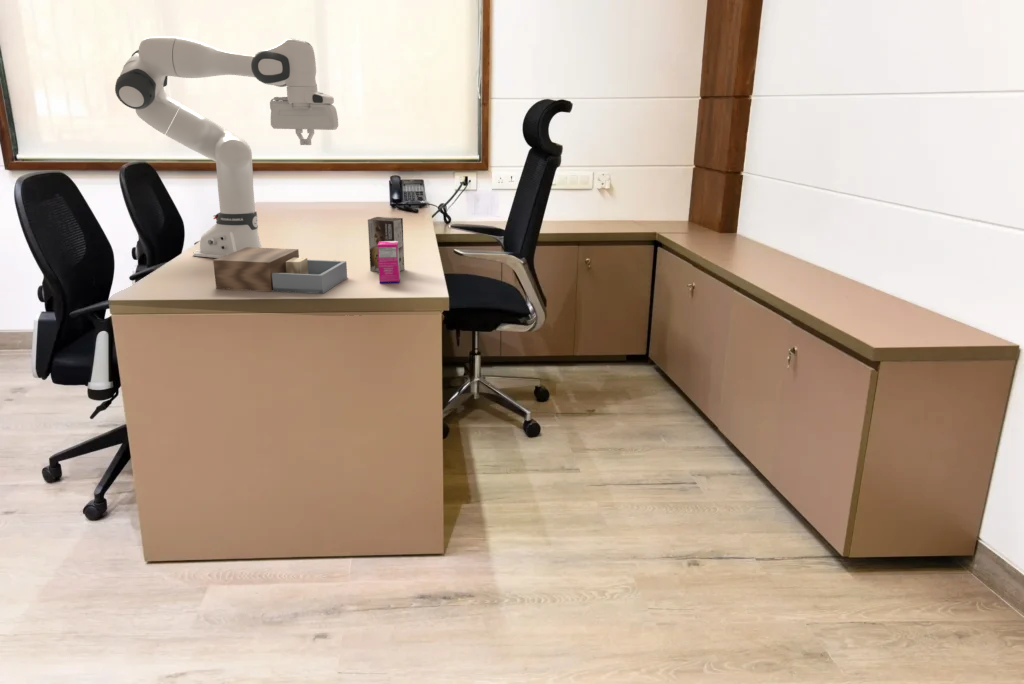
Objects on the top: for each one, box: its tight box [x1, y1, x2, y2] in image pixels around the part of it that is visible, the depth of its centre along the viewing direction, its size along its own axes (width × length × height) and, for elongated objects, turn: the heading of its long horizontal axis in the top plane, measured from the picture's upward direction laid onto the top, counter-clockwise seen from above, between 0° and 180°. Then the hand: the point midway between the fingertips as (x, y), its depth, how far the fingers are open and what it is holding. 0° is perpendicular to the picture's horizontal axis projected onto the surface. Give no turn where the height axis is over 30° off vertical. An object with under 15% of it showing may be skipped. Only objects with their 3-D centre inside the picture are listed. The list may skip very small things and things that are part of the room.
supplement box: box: [377, 241, 401, 284], centre depth 217 cm, size 6×6×12 cm
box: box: [272, 259, 348, 295], centre depth 212 cm, size 14×20×5 cm
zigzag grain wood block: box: [212, 247, 300, 292], centre depth 214 cm, size 16×20×8 cm
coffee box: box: [367, 216, 405, 272], centre depth 231 cm, size 9×6×16 cm
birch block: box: [286, 257, 308, 274], centre depth 212 cm, size 6×6×4 cm
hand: (305, 145), depth 227 cm, fingers closed
